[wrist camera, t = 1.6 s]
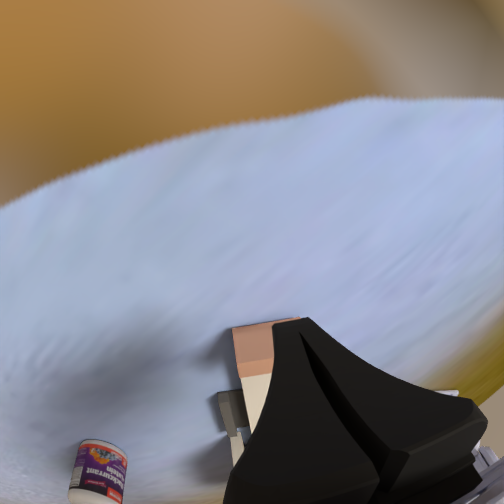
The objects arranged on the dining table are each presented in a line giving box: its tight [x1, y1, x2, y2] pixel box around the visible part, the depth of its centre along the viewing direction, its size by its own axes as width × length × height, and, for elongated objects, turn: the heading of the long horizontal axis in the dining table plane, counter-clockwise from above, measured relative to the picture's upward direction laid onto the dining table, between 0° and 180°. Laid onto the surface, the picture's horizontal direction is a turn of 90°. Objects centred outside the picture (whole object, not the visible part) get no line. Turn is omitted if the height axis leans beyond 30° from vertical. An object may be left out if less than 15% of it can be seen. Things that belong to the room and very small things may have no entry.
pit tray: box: [218, 389, 250, 437], centre depth 24 cm, size 9×5×1 cm, turn 96°
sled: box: [232, 317, 301, 433], centre depth 23 cm, size 5×21×5 cm, turn 6°
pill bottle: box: [68, 440, 127, 504], centre depth 21 cm, size 5×5×10 cm
